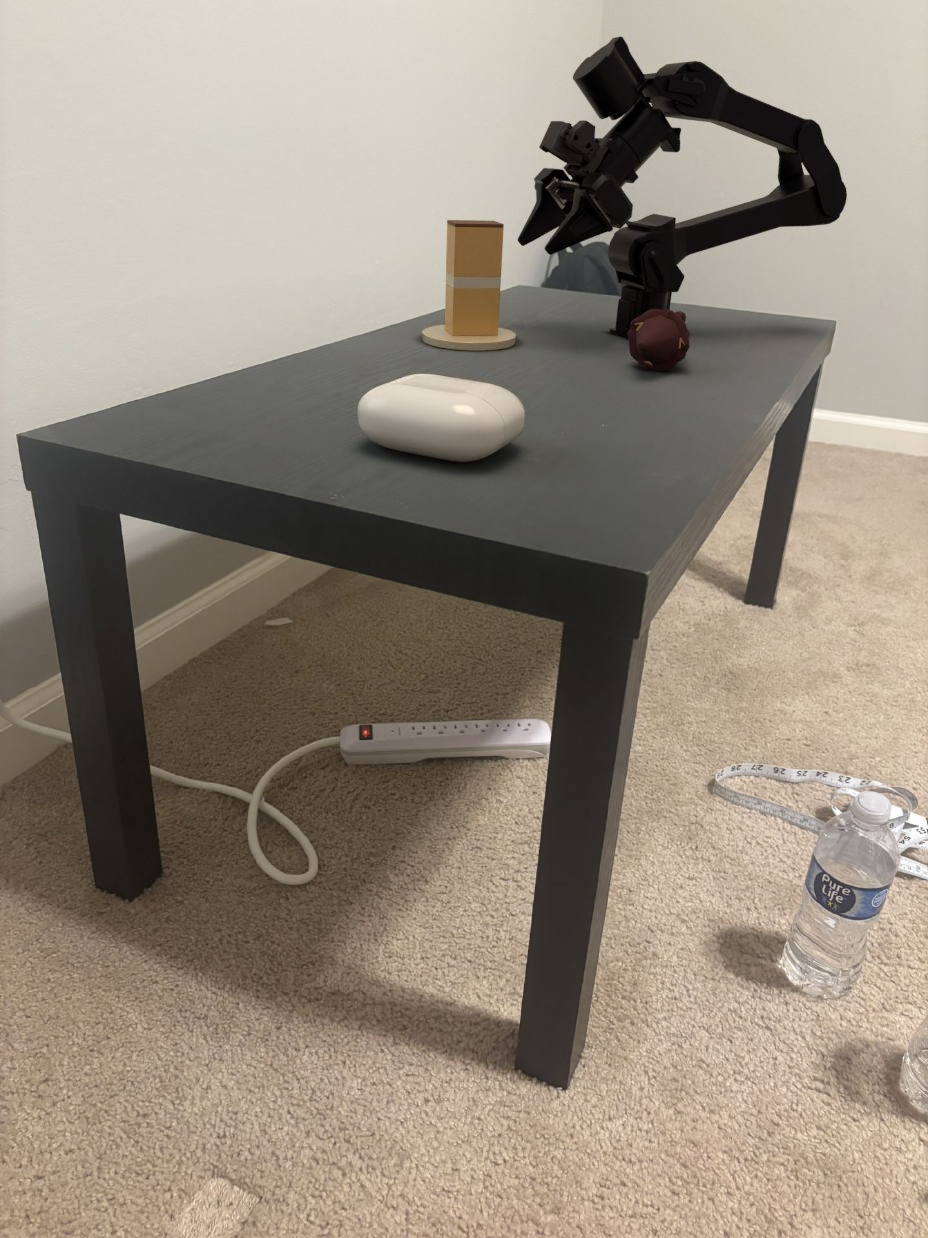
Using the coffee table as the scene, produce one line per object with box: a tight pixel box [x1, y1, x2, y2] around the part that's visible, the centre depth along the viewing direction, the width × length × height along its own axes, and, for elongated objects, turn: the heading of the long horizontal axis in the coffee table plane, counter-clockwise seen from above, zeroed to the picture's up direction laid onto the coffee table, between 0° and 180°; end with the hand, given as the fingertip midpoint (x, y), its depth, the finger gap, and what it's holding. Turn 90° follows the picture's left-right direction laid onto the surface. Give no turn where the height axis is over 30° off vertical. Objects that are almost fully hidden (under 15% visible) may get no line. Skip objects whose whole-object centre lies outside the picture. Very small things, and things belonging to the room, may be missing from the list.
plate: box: [421, 324, 517, 352], centre depth 116 cm, size 12×12×1 cm
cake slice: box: [444, 219, 505, 336], centre depth 113 cm, size 6×4×13 cm
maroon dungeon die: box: [627, 309, 691, 372], centre depth 104 cm, size 7×7×15 cm
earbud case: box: [356, 373, 526, 463], centre depth 75 cm, size 10×13×5 cm
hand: (532, 247), depth 113 cm, fingers open, 9 cm apart
